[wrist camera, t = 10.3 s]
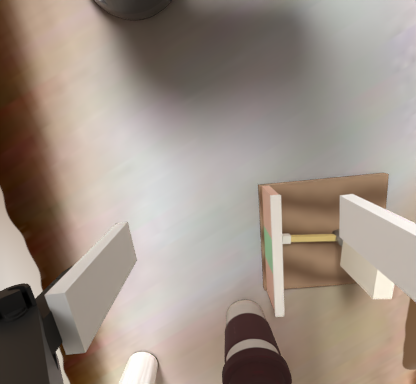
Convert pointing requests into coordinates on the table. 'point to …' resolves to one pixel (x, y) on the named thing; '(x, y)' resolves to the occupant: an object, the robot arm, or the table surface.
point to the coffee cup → (251, 348)
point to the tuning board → (317, 225)
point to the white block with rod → (352, 265)
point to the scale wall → (273, 248)
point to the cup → (140, 369)
